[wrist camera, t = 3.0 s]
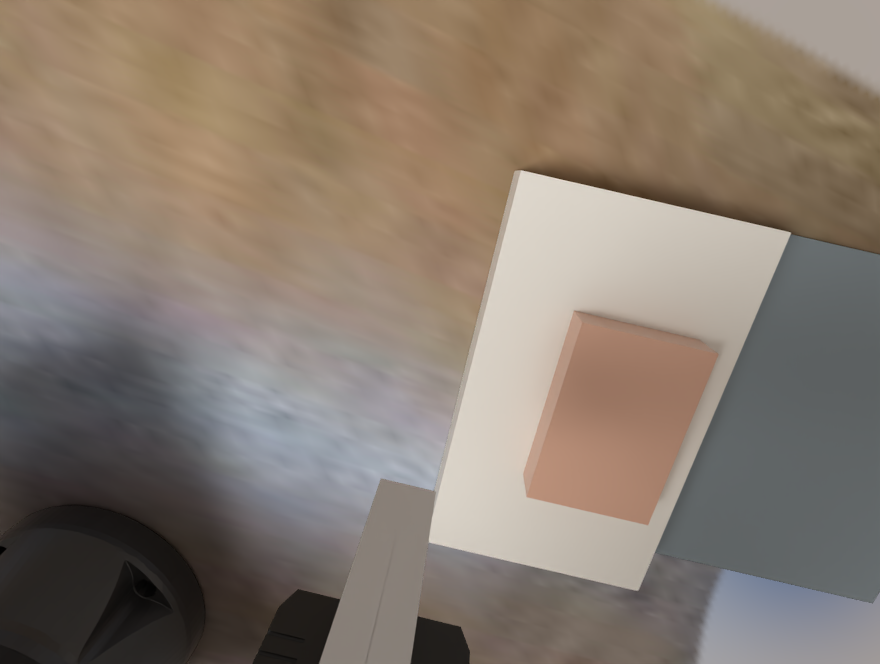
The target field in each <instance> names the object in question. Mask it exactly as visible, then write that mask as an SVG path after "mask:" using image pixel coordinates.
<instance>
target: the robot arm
mask: <svg viewBox="0 0 880 664" xmlns="http://www.w3.org/2000/svg"><path fill="white" fill-rule="evenodd" d="M435 495H436V492H435V491H431V490H427V489H423V488H419V487H414V486H410V485H406V484H402V483H398V482H393V481H389V480H385V479H381V480H380V483H379V486H378V489H377V492H376V495H375V498H374V501H373V504H372V507H371V510H370V513H369V516H368V519H367V522H366V525H365V528H364V531H363V534H362V537H361V540H360V543H359V546H358V549H357V552H356V555H355V558H354V561H353V564H352V567H351V570H350V573H349V576H348V579H347V582H346V585H345V588H344V591H343V594H342V597H341V600H340V599H336V598H332V597H328V596H323V595H319V594H315V593H311V592H307V591H303V590H299V589H298V590H297V591H296V592H295V593H294V594H292V595H291V596H290V597H289V598H288V599H287V600H286V601H285V602H284V603H283V604H282V605H281V606H280V607H279V608H278V610H277V613H276V615H275V617H274V619H273V621H272V623H271V625H270V627H269V630H268V633H267V635H266V636H265V638H264V640H263V642H262V645H261V647H260V649H259V652H258V654H257V655H256V657H255V659H254V662H253V664H469V657H470V651H469V648H468V645H467V643H466V640H465V637H464V635H463V632H462V629H461V627H459V626H455V625H450V624H446V623H442V622H438V621H434V620H430V619H426V618H421V617H417V616H418V609H419V603H420V596H421V589H422V582H423V576H424V569H425V562H426V555H427V549H428V542H429V535H430V528H431V522H432V515H433V508H434V501H435ZM204 623H205V608H204V601H203V597H202V593H201V590H200V588H199V585H198V583H197V581H196V579H195V577H194V575H193V573H192V571H191V570H190V568H189V567H188V565H187V564H186V562H185V561H184V560H183V559H182V557H181V556H180V555H179V554H178V553H177V552H176V551H175V550H174V549H173V548H172V547H171V546H170V545H169V544H168V543H167V542H166V541H165V540H164V539H162V538H161V537H160V536H158V535H157V534H156V533H154V532H153V531H151V530H150V529H148V528H147V527H145V526H143V525H142V524H140V523H138V522H136V521H134V520H132V519H130V518H127V517H125V516H123V515H120V514H117V513H114V512H111V511H108V510H104V509H99V508H94V507H87V506H59V507H53V508H48V509H44V510H41V511H38V512H36V513H33V514H31V515H29V516H27V517H26V518H24V519H23V520H21V521H20V522H19V523H17V524H16V525H15V526H13V527H12V528H11V529H9V530H8V531H7V532H5V533H4V534H3V535H2V536H0V664H186V663H187V661H188V659H189V658H190V656H191V654H192V653H193V651H194V649H195V648H196V646H197V644H198V642H199V640H200V638H201V635H202V632H203V628H204Z"/></svg>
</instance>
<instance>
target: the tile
mask: <svg viewBox="0 0 880 664" xmlns="http://www.w3.org/2000/svg"><path fill="white" fill-rule="evenodd" d="M718 355H719V354H718V353H717V352H715V351H714V350H713V349H711V348H710V347H709V346H707V345H706V344H705V343H703V342H702V341H701V340H699V339H695V338H690V337H686V336H682V335H677V334H673V333H669V332H664V331H660V330H656V329H651V328H647V327H643V326H638V325H634V324H630V323H625V322H621V321H617V320H612V319H608V318H604V317H599V316H595V315H591V314H587V313H582V312H578V311H574V312H573V315H572V318H571V321H570V325H569V328H568V331H567V334H566V337H565V341H564V344H563V347H562V350H561V354H560V357H559V360H558V363H557V366H556V370H555V373H554V376H553V379H552V382H551V386H550V389H549V392H548V395H547V398H546V402H545V405H544V408H543V411H542V415H541V418H540V421H539V424H538V427H537V431H536V434H535V437H534V440H533V443H532V447H531V450H530V453H529V456H528V459H527V463H526V466H525V469H524V472H523V477H524V484H525V491H526V497H528V498H532V499H537V500H541V501H545V502H550V503H554V504H558V505H563V506H567V507H571V508H575V509H580V510H584V511H588V512H593V513H597V514H601V515H606V516H610V517H614V518H619V519H623V520H627V521H631V522H636V523H640V524H644V525H648V524H649V522H650V519H651V517H652V514H653V512H654V510H655V507H656V505H657V502H658V500H659V498H660V495H661V493H662V490H663V488H664V485H665V483H666V481H667V478H668V476H669V473H670V471H671V469H672V466H673V464H674V461H675V459H676V456H677V454H678V452H679V449H680V447H681V444H682V442H683V440H684V437H685V435H686V432H687V430H688V427H689V425H690V423H691V420H692V418H693V415H694V413H695V411H696V408H697V406H698V403H699V401H700V398H701V396H702V394H703V391H704V389H705V386H706V384H707V382H708V379H709V377H710V374H711V372H712V369H713V367H714V365H715V362H716V360H717V357H718Z"/></svg>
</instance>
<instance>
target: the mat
mask: <svg viewBox="0 0 880 664" xmlns="http://www.w3.org/2000/svg"><path fill="white" fill-rule="evenodd" d="M655 553H658V554H662V555H667V556H671V557H675V558H680V559H684V560H688V561H692V562H697V563H701V564H705V565H710V566H714V567H718V568H723V569H727V570H731V571H736V572H740V573H745V574H749V575H753V576H757V577H761V578H766V579H770V580H774V581H779V582H783V583H788V584H791V585H796V586H800V587H805V588H809V589H813V590H817V591H822V592H826V593H831V594H835V595H839V596H843V597H847V598H852V599H856V600H861V601H865V602H869V603H873V602H874V600H875V598H876V597H877V595H878V594H879V592H880V255H879V254H874V253H870V252H866V251H861V250H857V249H852V248H848V247H844V246H839V245H835V244H831V243H826V242H822V241H818V240H813V239H809V238H805V237H800V236H796V235H792V234H791V235H790V237H789V239H788V242H787V244H786V246H785V249H784V251H783V253H782V256H781V258H780V260H779V263H778V265H777V268H776V270H775V272H774V275H773V277H772V279H771V282H770V284H769V286H768V289H767V291H766V293H765V296H764V298H763V300H762V303H761V305H760V307H759V310H758V312H757V314H756V317H755V319H754V321H753V324H752V326H751V328H750V331H749V333H748V335H747V338H746V340H745V342H744V345H743V347H742V349H741V352H740V354H739V356H738V359H737V361H736V364H735V366H734V368H733V371H732V373H731V375H730V378H729V380H728V382H727V385H726V387H725V389H724V392H723V394H722V396H721V399H720V401H719V403H718V406H717V408H716V410H715V413H714V415H713V417H712V420H711V422H710V424H709V427H708V429H707V431H706V434H705V436H704V438H703V441H702V443H701V445H700V448H699V450H698V452H697V455H696V457H695V460H694V462H693V464H692V467H691V469H690V471H689V474H688V476H687V478H686V481H685V483H684V485H683V488H682V490H681V492H680V495H679V497H678V499H677V502H676V504H675V506H674V509H673V511H672V513H671V516H670V518H669V520H668V523H667V525H666V527H665V530H664V532H663V534H662V537H661V539H660V541H659V544H658V546H657V548H656V551H655Z"/></svg>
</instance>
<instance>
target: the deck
mask: <svg viewBox="0 0 880 664" xmlns="http://www.w3.org/2000/svg"><path fill="white" fill-rule="evenodd" d="M790 235H791V232H787V231H782V230H778V229H774V228H769V227H765V226H761V225H756V224H752V223H748V222H743V221H739V220H735V219H730V218H726V217H722V216H717V215H713V214H709V213H704V212H700V211H696V210H691V209H687V208H683V207H678V206H674V205H670V204H665V203H661V202H657V201H652V200H648V199H644V198H639V197H635V196H631V195H626V194H622V193H618V192H613V191H609V190H605V189H600V188H596V187H592V186H587V185H583V184H579V183H574V182H570V181H566V180H561V179H557V178H553V177H548V176H544V175H540V174H535V173H531V172H526V171H522V170H518V171H515V172H514V176H513V180H512V184H511V188H510V192H509V196H508V200H507V203H506V207H505V211H504V215H503V219H502V223H501V227H500V231H499V235H498V239H497V243H496V247H495V251H494V255H493V259H492V263H491V267H490V271H489V275H488V279H487V283H486V287H485V291H484V295H483V299H482V303H481V307H480V311H479V314H478V318H477V322H476V326H475V330H474V334H473V338H472V342H471V346H470V350H469V354H468V358H467V362H466V366H465V370H464V374H463V378H462V382H461V386H460V390H459V394H458V398H457V402H456V406H455V410H454V414H453V418H452V422H451V425H450V429H449V433H448V437H447V441H446V445H445V449H444V453H443V457H442V461H441V465H440V469H439V473H438V477H437V481H436V485H435V489H434V491H435V492H436V495H435V501H434V508H433V515H432V522H431V528H430V535H429V543H433V544H438V545H442V546H446V547H451V548H455V549H459V550H463V551H468V552H472V553H476V554H481V555H485V556H489V557H494V558H498V559H502V560H506V561H511V562H515V563H519V564H524V565H528V566H532V567H537V568H541V569H545V570H549V571H554V572H558V573H562V574H567V575H571V576H575V577H580V578H584V579H588V580H592V581H597V582H601V583H605V584H610V585H614V586H618V587H623V588H627V589H631V590H635V591H639V588H640V586H641V584H642V581H643V579H644V577H645V574H646V572H647V570H648V567H649V565H650V563H651V560H652V558H653V556H654V553H655V551H656V548H657V546H658V544H659V541H660V539H661V537H662V534H663V532H664V530H665V527H666V525H667V523H668V520H669V518H670V516H671V513H672V511H673V509H674V506H675V504H676V502H677V499H678V497H679V495H680V492H681V490H682V488H683V485H684V483H685V481H686V478H687V476H688V474H689V471H690V469H691V467H692V464H693V462H694V460H695V457H696V455H697V452H698V450H699V448H700V445H701V443H702V441H703V438H704V436H705V434H706V431H707V429H708V427H709V424H710V422H711V420H712V417H713V415H714V413H715V410H716V408H717V406H718V403H719V401H720V399H721V396H722V394H723V392H724V389H725V387H726V385H727V382H728V380H729V378H730V375H731V373H732V371H733V368H734V366H735V364H736V361H737V359H738V356H739V354H740V352H741V349H742V347H743V345H744V342H745V340H746V338H747V335H748V333H749V331H750V328H751V326H752V324H753V321H754V319H755V317H756V314H757V312H758V310H759V307H760V305H761V303H762V300H763V298H764V296H765V293H766V291H767V289H768V286H769V284H770V282H771V279H772V277H773V275H774V272H775V270H776V268H777V265H778V263H779V260H780V258H781V256H782V253H783V251H784V249H785V246H786V244H787V242H788V239H789V237H790ZM574 311H578V312H582V313H587V314H591V315H595V316H599V317H604V318H608V319H612V320H617V321H621V322H625V323H630V324H634V325H638V326H643V327H647V328H651V329H656V330H660V331H664V332H669V333H673V334H677V335H682V336H686V337H690V338H695V339H699V340H701V341H702V342H703V343H705V344H706V345H707V346H709V347H710V348H711V349H713V350H714V351H715V352H717V353H718V354H719V355H718V357H717V360H716V362H715V365H714V367H713V369H712V372H711V374H710V377H709V379H708V382H707V384H706V386H705V389H704V391H703V394H702V396H701V398H700V401H699V403H698V406H697V408H696V411H695V413H694V415H693V418H692V420H691V423H690V425H689V427H688V430H687V432H686V435H685V437H684V440H683V442H682V444H681V447H680V449H679V452H678V454H677V456H676V459H675V461H674V464H673V466H672V469H671V471H670V473H669V476H668V478H667V481H666V483H665V485H664V488H663V490H662V493H661V495H660V498H659V500H658V502H657V505H656V507H655V510H654V512H653V514H652V517H651V519H650V522H649V524H648V525H644V524H640V523H636V522H631V521H627V520H623V519H619V518H614V517H610V516H606V515H601V514H597V513H593V512H588V511H584V510H580V509H575V508H571V507H567V506H563V505H558V504H554V503H550V502H545V501H541V500H537V499H532V498H528V497H526V491H525V484H524V477H523V472H524V469H525V466H526V463H527V459H528V456H529V453H530V450H531V447H532V443H533V440H534V437H535V434H536V431H537V427H538V424H539V421H540V418H541V415H542V411H543V408H544V405H545V402H546V398H547V395H548V392H549V389H550V386H551V382H552V379H553V376H554V373H555V370H556V366H557V363H558V360H559V357H560V354H561V350H562V347H563V344H564V341H565V337H566V334H567V331H568V328H569V325H570V321H571V318H572V315H573V312H574Z"/></svg>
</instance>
